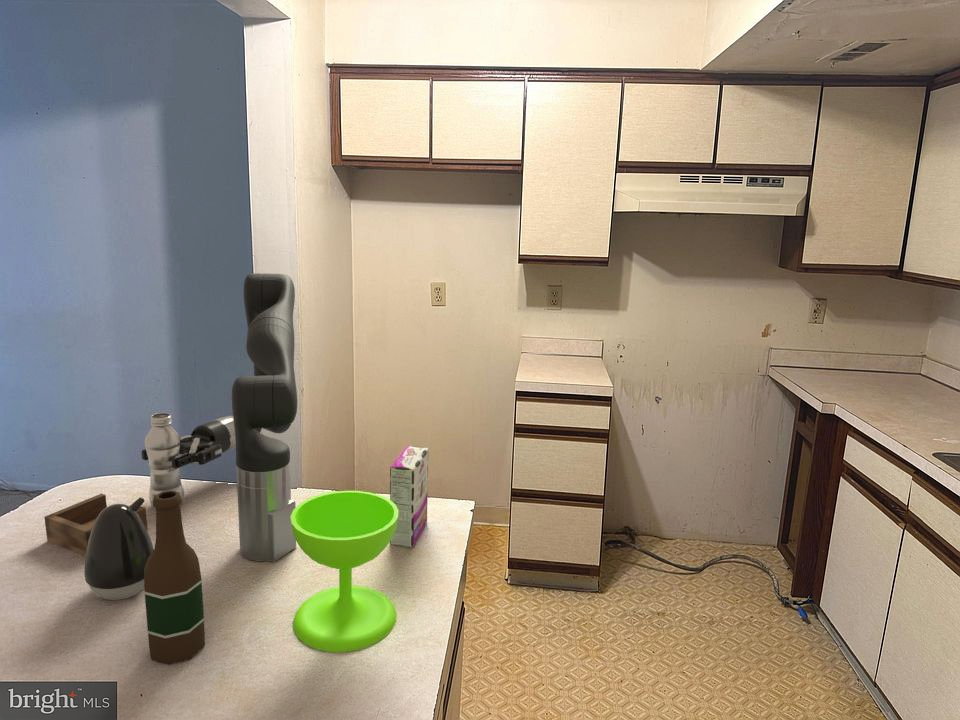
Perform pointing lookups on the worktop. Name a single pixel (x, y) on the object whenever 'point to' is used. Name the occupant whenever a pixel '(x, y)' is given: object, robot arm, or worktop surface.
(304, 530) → the wineglass
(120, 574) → the black egg-shaped dispenser
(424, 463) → the candy bar box
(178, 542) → the beer bottle
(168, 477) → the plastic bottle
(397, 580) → the worktop surface
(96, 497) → the u rest
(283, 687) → the worktop surface
